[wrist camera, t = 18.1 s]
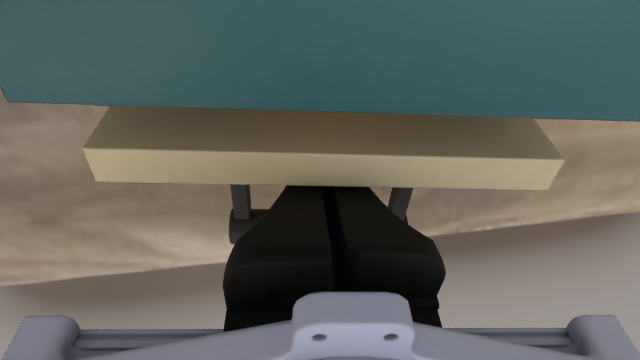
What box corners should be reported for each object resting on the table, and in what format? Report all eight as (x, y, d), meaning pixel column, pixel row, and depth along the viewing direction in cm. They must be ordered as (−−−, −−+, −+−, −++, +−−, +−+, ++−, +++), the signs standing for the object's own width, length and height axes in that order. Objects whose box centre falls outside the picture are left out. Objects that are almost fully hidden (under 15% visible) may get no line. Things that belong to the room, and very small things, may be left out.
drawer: (447, 179, 20) (490, 286, 16) (177, 173, 19) (139, 285, 15) (671, -440, 8) (1108, -740, 4) (13, -524, 8) (-422, -1037, 3)
